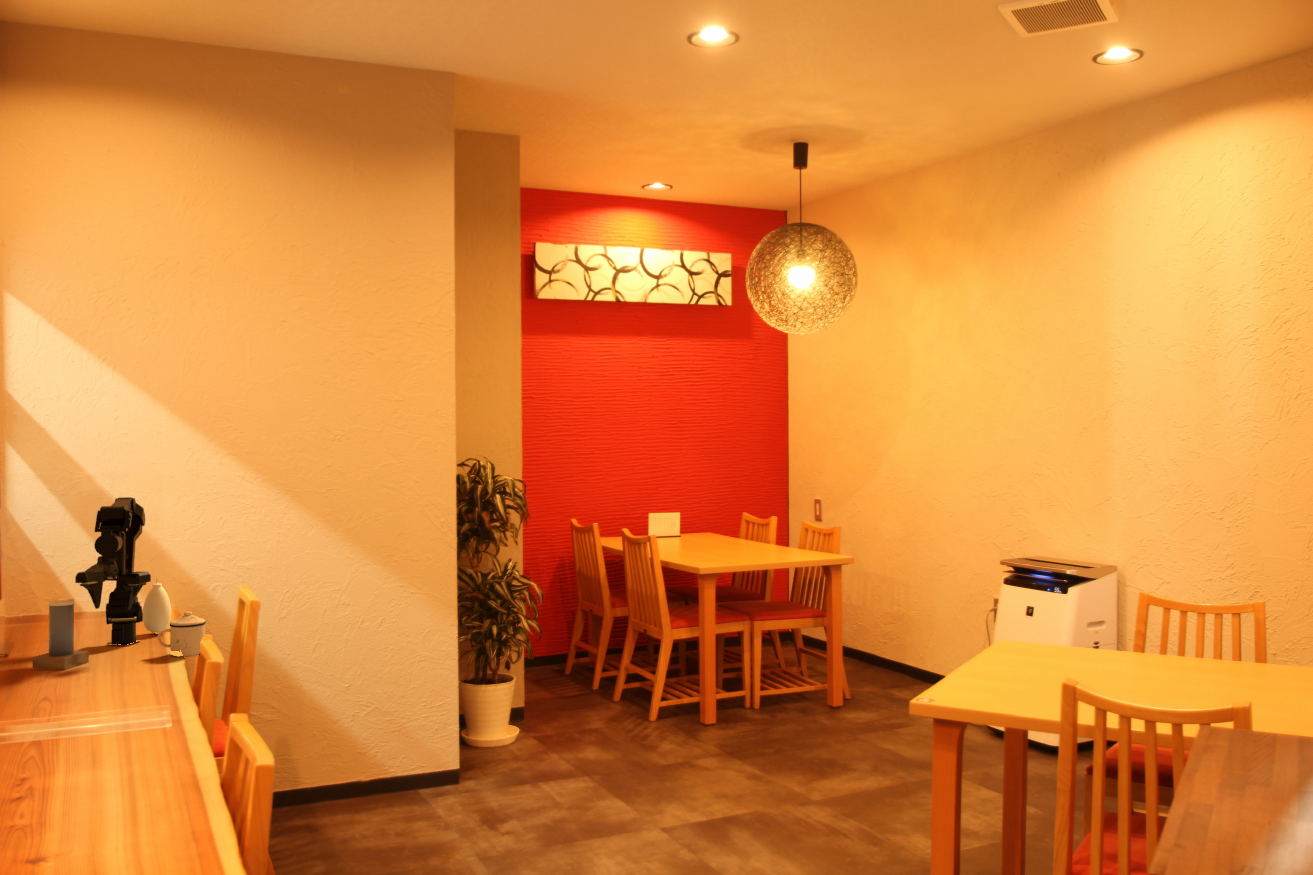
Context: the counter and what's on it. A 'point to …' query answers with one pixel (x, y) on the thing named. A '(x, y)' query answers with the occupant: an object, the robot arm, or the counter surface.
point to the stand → (60, 661)
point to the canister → (61, 627)
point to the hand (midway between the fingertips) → (112, 608)
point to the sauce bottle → (156, 609)
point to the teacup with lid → (185, 634)
